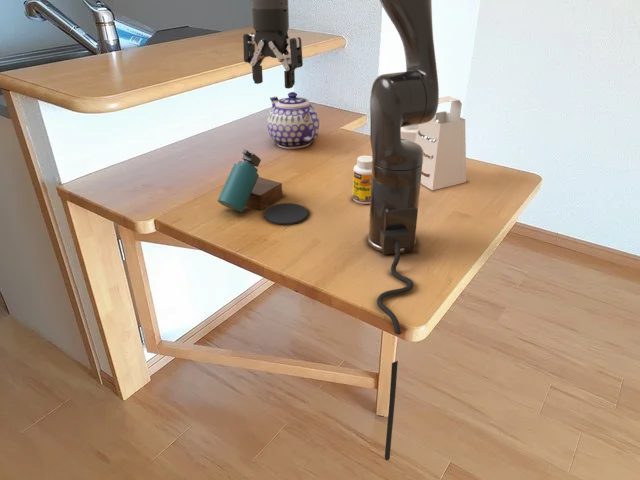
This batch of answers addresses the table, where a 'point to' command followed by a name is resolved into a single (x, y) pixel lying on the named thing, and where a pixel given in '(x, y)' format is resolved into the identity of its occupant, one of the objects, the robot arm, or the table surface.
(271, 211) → the coaster
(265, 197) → the walnut block
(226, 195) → the spray bottle
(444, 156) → the grater
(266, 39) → the robot arm
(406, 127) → the white milk carton
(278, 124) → the teapot
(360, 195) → the supplement bottle
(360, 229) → the table surface
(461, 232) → the table surface
